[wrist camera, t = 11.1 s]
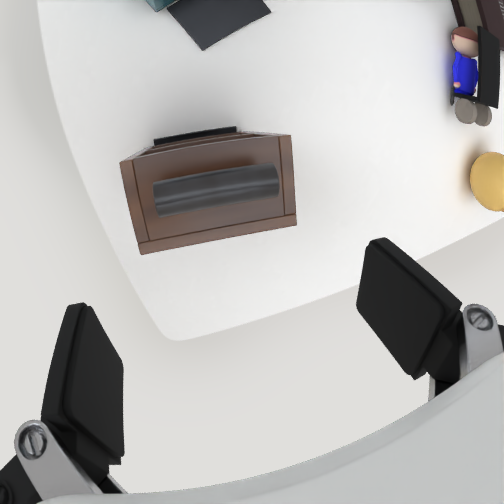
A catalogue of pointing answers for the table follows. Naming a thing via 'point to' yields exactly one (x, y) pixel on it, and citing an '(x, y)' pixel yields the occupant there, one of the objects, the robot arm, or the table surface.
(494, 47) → the figurine character
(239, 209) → the walnut shelf
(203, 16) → the dark grey flat plate
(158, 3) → the teal shelf
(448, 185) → the table surface
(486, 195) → the stress ball
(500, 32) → the book
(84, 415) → the robot arm
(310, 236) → the table surface
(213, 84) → the table surface
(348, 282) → the table surface
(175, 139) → the charcoal rectangular slab
